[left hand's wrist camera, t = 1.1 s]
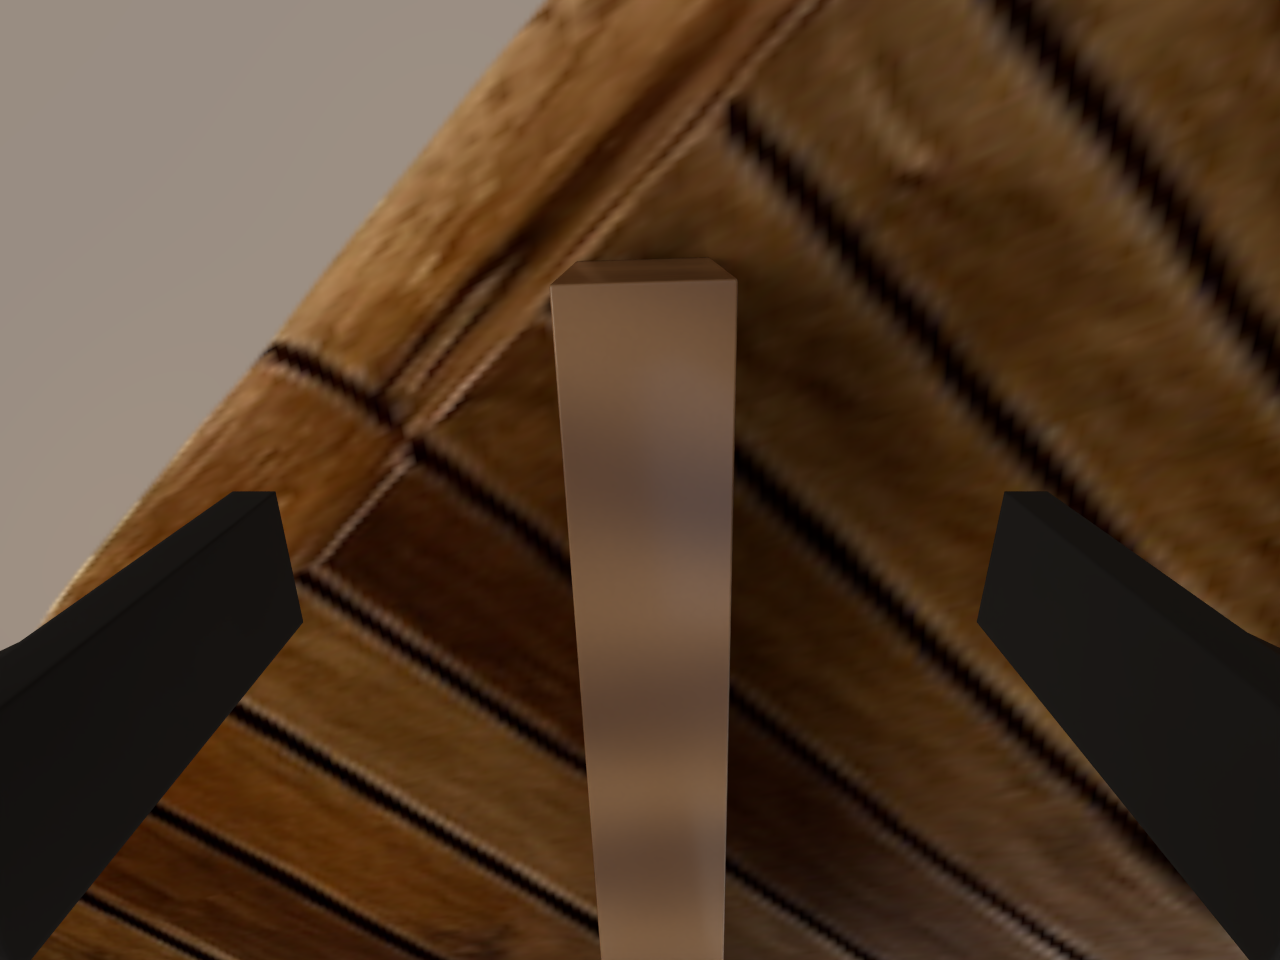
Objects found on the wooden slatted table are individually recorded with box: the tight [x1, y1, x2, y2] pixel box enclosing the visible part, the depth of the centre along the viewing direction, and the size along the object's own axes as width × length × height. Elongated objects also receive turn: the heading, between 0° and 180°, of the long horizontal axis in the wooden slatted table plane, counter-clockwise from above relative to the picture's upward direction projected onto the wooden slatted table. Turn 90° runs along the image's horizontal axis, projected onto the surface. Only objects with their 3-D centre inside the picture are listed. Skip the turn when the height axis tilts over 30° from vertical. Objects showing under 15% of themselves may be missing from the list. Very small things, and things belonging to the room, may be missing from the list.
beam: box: [549, 257, 738, 960], centre depth 33 cm, size 59×5×8 cm, turn 2°
